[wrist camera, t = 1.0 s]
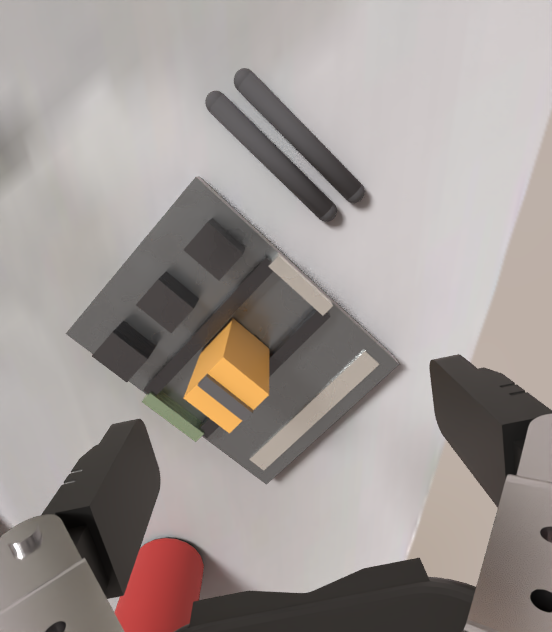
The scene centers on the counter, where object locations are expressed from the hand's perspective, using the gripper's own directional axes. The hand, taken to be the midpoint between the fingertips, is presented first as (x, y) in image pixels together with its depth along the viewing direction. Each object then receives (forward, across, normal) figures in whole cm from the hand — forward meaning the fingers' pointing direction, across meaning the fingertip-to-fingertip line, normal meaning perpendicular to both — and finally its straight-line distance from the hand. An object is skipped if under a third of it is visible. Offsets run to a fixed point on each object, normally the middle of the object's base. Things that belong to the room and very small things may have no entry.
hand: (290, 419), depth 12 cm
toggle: (+20, +4, +5) cm, 21 cm away
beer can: (+23, +15, +25) cm, 37 cm away
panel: (+22, +4, +4) cm, 22 cm away
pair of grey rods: (+21, -3, -9) cm, 23 cm away
